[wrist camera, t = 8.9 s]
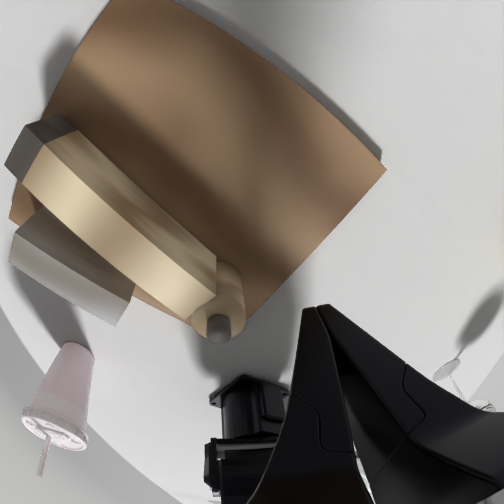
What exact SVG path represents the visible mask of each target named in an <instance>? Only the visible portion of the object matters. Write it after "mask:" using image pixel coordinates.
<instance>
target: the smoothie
mask: <svg viewBox="0 0 504 504" xmlns="http://www.w3.org/2000/svg"><path fill="white" fill-rule="evenodd" d="M93 366H94V356H93V354H92V353H91V352H90V351H89V350H88V349H87V348H85V347H84V346H82V345H80V344H77V343H73V342H68V343H65V344H64V345H63V346H62V348H61V350H60V351H59V353H58V355H57V356H56V358H55V360H54V361H53V363H52V365H51V366H50V368H49V370H48V372H47V373H46V375H45V377H44V379H43V381H42V382H41V384H40V386H39V387H38V389H37V391H36V393H35V395H34V397H33V399H32V401H31V403H30V405H29V406H28V407H24V409H23V414H22V416H21V420H22V422H23V424H24V425H25V426H26V427H27V428H28V429H29V430H30V431H31V432H33V433H34V434H35V435H37V436H38V437H40V438H42V439H43V440H45V441H44V445H43V449H42V453H41V457H40V462H39V466H38V471H37V476H39V477H41V478H43V474H44V469H45V464H46V460H47V455H48V450H49V447H50V443H51V444H54V445H56V446H59V447H62V448H65V449H69V450H75V451H78V450H79V451H80V450H84V449H86V447H87V442H88V440H89V438H88V436H87V434H86V424H87V413H88V403H89V395H90V387H91V380H92V373H93Z"/></svg>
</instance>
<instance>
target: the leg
mask: <svg viewBox="0 0 504 504" xmlns="http://www.w3.org/2000/svg"><path fill="white" fill-rule="evenodd" d="M4 165H5V166H6V167H7V169H8V170H9V171H10V172H11V173H12V174H13V175H14V176H15V177H16V178H17V179H18V180H19V181H20V182H21V183H22V184H23V185H24V186H25V187H26V188H27V189H28V190H29V191H30V192H31V193H32V194H33V195H34V196H35V197H36V198H37V199H38V200H39V201H40V202H41V203H42V204H43V205H44V206H46V207H47V208H48V209H49V210H50V211H51V212H52V213H53V214H54V215H55V216H56V217H57V218H58V219H59V220H61V221H62V222H63V223H64V224H65V225H66V226H67V227H68V228H69V229H71V230H72V231H73V232H74V233H75V234H76V235H77V236H79V237H80V238H81V239H82V240H83V241H84V242H85V243H87V244H88V245H89V246H90V247H91V248H92V249H94V250H95V251H96V252H97V253H98V254H100V255H101V256H102V257H103V258H104V259H106V260H107V261H108V262H109V263H111V264H112V265H113V266H114V267H115V268H117V269H118V270H119V271H120V272H122V273H123V274H124V275H125V276H127V277H128V278H129V279H131V280H132V281H133V282H134V283H136V284H137V285H138V286H140V287H141V288H142V289H143V290H145V291H146V292H147V293H149V294H150V295H151V296H153V297H154V298H155V299H157V300H158V301H159V302H161V303H162V304H164V305H165V306H166V307H168V308H169V309H170V310H172V311H173V312H175V313H176V314H177V315H179V316H180V317H182V318H183V319H184V320H185V319H186V318H187V317H189V316H190V315H191V314H192V316H191V323H192V326H193V328H194V330H195V331H196V332H197V333H198V334H199V335H201V336H203V337H205V338H207V337H206V326H207V320H208V318H209V317H210V316H212V315H216V314H221V315H225V316H227V317H228V318H229V319H230V321H231V338H233V337H235V336H237V335H238V334H240V333H241V332H242V330H243V329H244V327H245V325H246V314H245V305H244V296H243V287H242V278H241V275H240V273H239V271H238V270H237V269H236V268H235V267H234V266H232V265H231V264H228V263H225V262H216V256H215V255H214V254H213V253H212V252H211V251H210V250H208V249H207V248H206V247H205V246H204V245H203V244H202V243H200V242H199V241H198V240H197V239H196V238H195V237H194V236H193V235H191V234H190V233H189V232H188V231H187V230H186V229H185V228H184V227H182V226H181V225H180V224H179V223H178V222H177V221H176V220H175V219H173V218H172V217H171V216H170V215H169V214H168V213H167V212H166V211H165V210H164V209H162V208H161V207H160V206H159V205H158V204H157V203H156V202H155V201H154V200H152V199H151V198H150V197H149V196H148V195H147V194H146V193H145V192H144V191H143V190H142V189H140V188H139V187H138V186H137V185H136V184H135V183H134V182H133V181H132V180H131V179H130V178H128V177H127V176H126V175H125V174H124V173H123V172H122V171H121V170H120V169H119V168H118V167H117V166H116V165H114V164H113V163H112V162H111V161H110V160H109V159H108V158H107V157H106V156H105V155H104V154H103V153H102V152H101V151H100V150H99V149H97V148H96V147H95V146H94V145H93V144H92V143H91V142H90V141H89V140H88V139H87V138H86V137H85V136H84V135H83V134H82V133H81V132H80V131H79V130H77V129H76V128H75V127H74V126H73V125H72V124H71V123H70V122H69V121H68V120H67V119H66V118H65V117H64V116H63V115H62V114H60V115H56V116H53V117H49V118H46V119H43V120H39V121H36V122H33V123H30V124H27V125H25V126H24V128H23V130H22V131H21V133H20V135H19V137H18V139H17V140H16V142H15V144H14V146H13V148H12V150H11V152H10V154H9V156H8V158H7V160H6V162H5V164H4Z"/></svg>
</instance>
